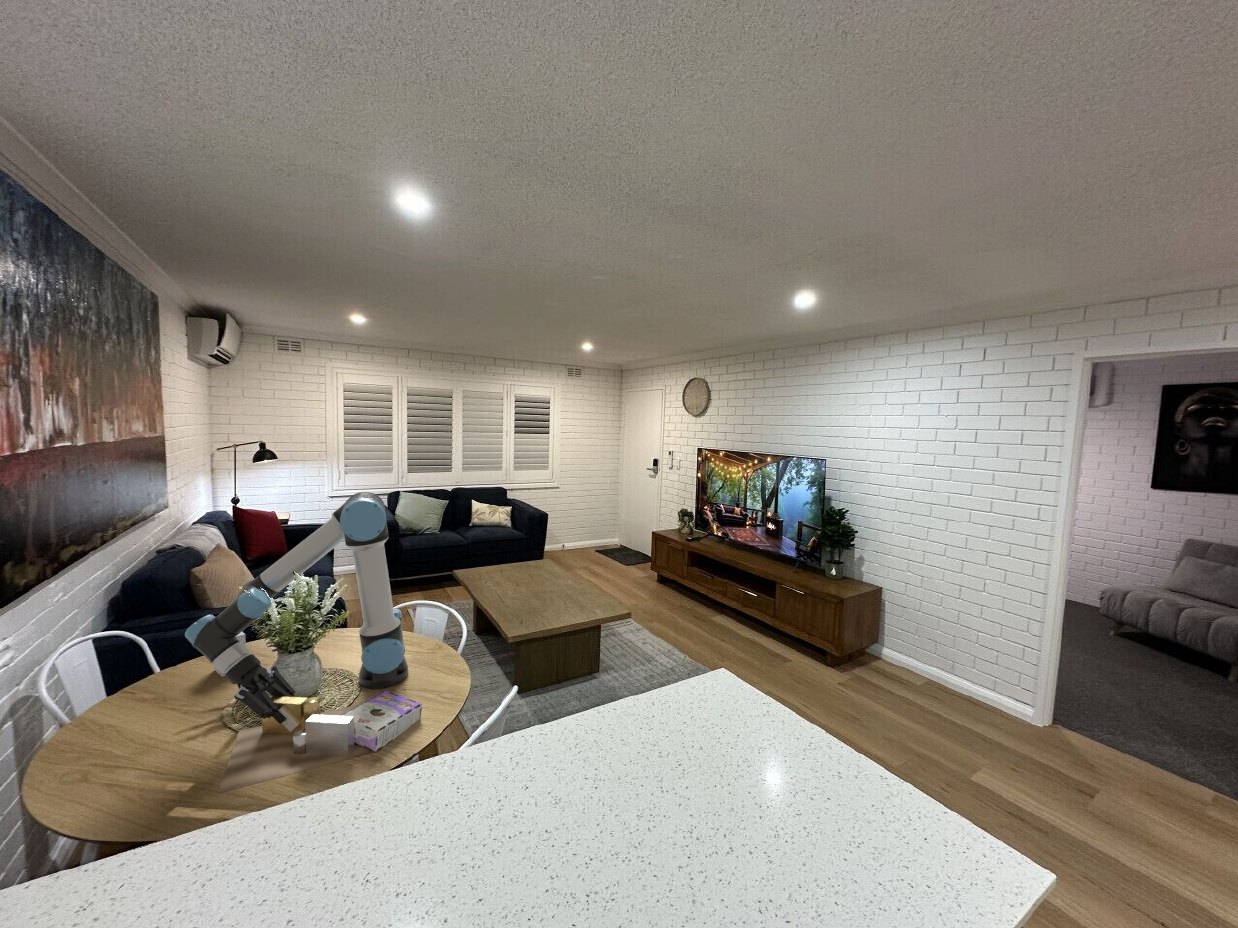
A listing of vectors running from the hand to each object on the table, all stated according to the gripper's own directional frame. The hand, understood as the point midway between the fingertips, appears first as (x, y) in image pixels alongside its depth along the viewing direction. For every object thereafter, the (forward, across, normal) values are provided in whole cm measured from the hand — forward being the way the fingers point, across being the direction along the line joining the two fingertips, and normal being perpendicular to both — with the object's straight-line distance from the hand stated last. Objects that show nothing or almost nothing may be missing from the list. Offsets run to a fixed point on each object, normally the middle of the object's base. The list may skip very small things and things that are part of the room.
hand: (299, 723), depth 138 cm
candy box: (+17, -11, +17) cm, 27 cm away
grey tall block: (-29, -31, -34) cm, 55 cm away
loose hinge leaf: (0, 0, -3) cm, 3 cm away
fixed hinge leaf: (+9, +7, +6) cm, 13 cm away
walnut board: (+5, +4, 0) cm, 7 cm away
